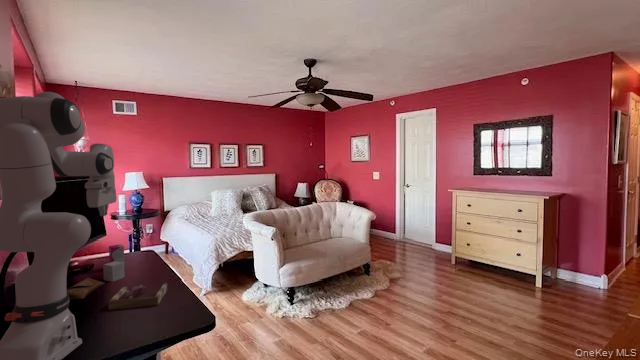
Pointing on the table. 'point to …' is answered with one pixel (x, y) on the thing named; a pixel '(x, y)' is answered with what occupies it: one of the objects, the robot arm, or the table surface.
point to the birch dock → (136, 299)
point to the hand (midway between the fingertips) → (103, 215)
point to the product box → (113, 271)
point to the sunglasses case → (83, 288)
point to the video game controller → (134, 292)
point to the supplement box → (116, 253)
